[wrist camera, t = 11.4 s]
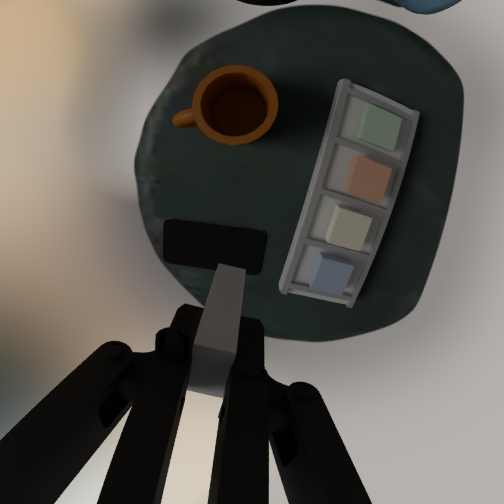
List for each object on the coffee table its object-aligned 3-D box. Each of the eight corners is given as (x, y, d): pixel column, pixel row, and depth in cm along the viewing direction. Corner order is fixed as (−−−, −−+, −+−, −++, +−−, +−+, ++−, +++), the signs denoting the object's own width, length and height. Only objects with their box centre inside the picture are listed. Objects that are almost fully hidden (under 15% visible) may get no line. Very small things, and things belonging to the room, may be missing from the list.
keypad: (337, 81, 31) (343, 77, 29) (411, 113, 32) (420, 113, 29) (278, 283, 43) (279, 293, 40) (348, 298, 44) (352, 308, 41)
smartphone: (259, 276, 42) (162, 262, 42) (259, 274, 43) (164, 260, 42) (267, 230, 39) (163, 217, 39) (267, 229, 40) (165, 215, 40)
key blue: (319, 252, 38) (322, 258, 36) (350, 260, 38) (354, 266, 36) (308, 282, 40) (310, 289, 38) (338, 288, 40) (341, 295, 38)
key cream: (335, 204, 35) (339, 207, 33) (367, 214, 36) (372, 218, 34) (324, 237, 37) (328, 242, 35) (355, 246, 37) (360, 251, 36)
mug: (185, 83, 32) (165, 67, 24) (274, 83, 32) (279, 65, 24) (183, 145, 35) (161, 146, 27) (272, 146, 35) (276, 146, 27)
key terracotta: (353, 154, 32) (358, 155, 30) (385, 166, 32) (392, 168, 30) (342, 189, 34) (347, 192, 32) (374, 200, 34) (380, 204, 32)
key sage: (364, 105, 30) (369, 103, 28) (395, 119, 30) (402, 118, 28) (355, 138, 32) (360, 138, 30) (387, 151, 32) (393, 151, 30)
